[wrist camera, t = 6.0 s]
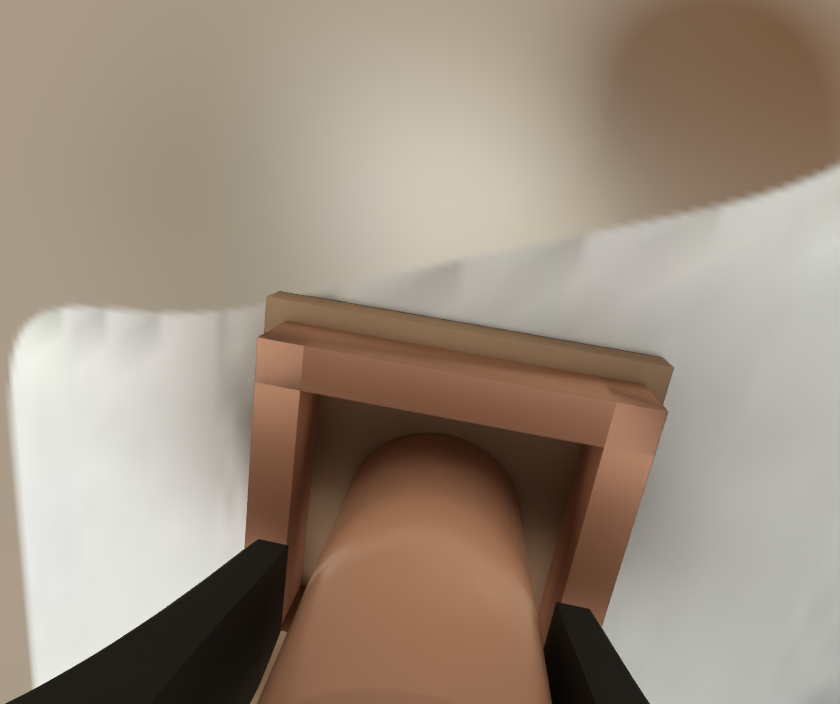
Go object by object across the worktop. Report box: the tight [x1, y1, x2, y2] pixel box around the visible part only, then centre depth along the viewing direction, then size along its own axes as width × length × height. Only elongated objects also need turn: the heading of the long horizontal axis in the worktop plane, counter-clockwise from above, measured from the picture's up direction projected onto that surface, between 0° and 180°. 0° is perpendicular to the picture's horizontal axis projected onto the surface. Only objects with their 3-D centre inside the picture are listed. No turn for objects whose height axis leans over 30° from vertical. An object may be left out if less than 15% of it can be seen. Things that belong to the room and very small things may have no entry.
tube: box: [257, 433, 552, 704], centre depth 10 cm, size 4×4×7 cm
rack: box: [245, 291, 674, 704], centre depth 14 cm, size 18×9×2 cm, turn 171°
